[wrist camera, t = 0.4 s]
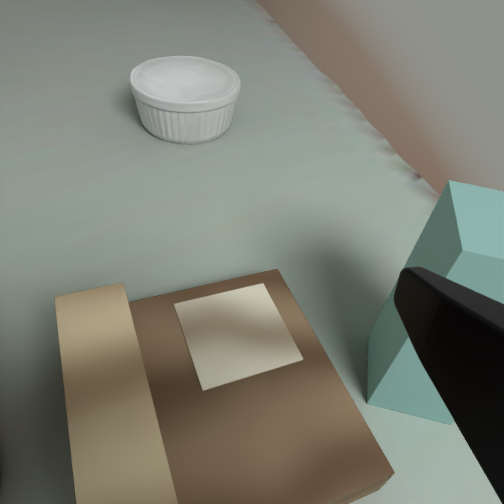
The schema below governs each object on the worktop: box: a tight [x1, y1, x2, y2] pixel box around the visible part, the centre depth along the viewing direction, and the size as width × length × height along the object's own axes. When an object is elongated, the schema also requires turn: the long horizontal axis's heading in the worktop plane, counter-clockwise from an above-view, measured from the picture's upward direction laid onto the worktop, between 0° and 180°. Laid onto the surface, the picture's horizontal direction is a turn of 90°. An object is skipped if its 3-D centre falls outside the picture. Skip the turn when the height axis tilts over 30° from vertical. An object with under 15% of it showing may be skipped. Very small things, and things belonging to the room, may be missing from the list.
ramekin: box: [129, 56, 240, 144], centre depth 46 cm, size 11×11×5 cm
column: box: [367, 180, 504, 425], centre depth 23 cm, size 5×5×13 cm
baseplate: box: [128, 269, 395, 504], centre depth 24 cm, size 14×14×3 cm
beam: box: [54, 283, 178, 504], centre depth 20 cm, size 12×4×3 cm, turn 22°
